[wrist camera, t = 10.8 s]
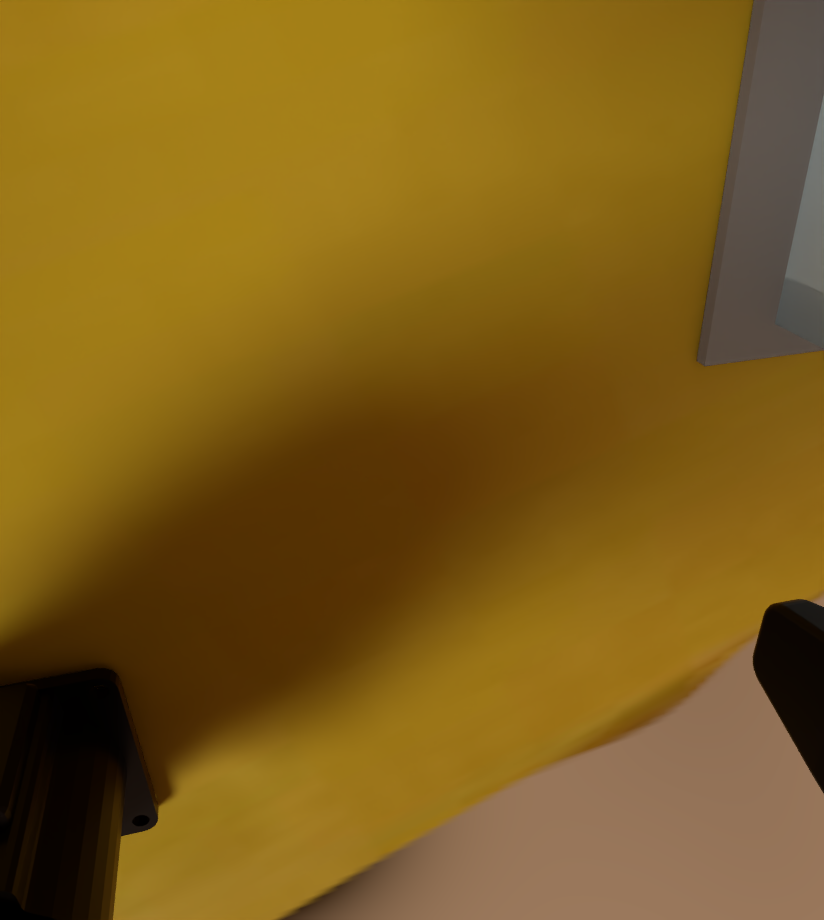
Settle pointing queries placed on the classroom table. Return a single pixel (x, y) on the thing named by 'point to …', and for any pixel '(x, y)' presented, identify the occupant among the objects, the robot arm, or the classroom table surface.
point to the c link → (807, 255)
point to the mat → (765, 183)
